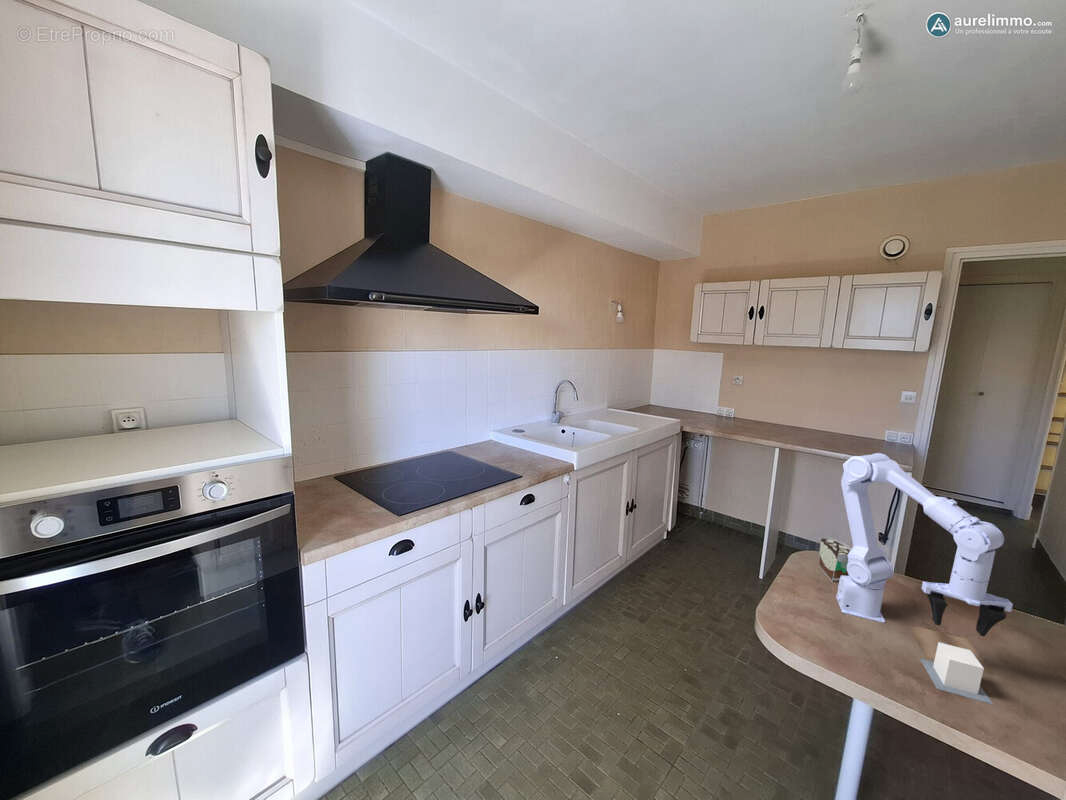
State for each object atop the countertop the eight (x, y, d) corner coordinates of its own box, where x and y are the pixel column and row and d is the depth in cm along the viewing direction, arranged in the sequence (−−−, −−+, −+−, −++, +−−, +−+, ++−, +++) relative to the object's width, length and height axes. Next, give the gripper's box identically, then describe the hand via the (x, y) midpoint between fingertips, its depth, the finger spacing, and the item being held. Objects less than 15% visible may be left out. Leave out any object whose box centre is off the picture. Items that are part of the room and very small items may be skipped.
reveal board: (925, 657, 100) (925, 656, 100) (906, 625, 110) (906, 624, 110) (993, 675, 95) (994, 674, 95) (967, 639, 105) (967, 638, 105)
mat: (936, 689, 91) (937, 688, 91) (920, 659, 99) (920, 658, 99) (992, 705, 87) (993, 704, 87) (970, 673, 95) (971, 672, 95)
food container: (857, 588, 126) (862, 557, 124) (834, 585, 127) (839, 555, 125) (836, 565, 138) (841, 537, 136) (816, 562, 139) (820, 535, 137)
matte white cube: (943, 685, 92) (949, 659, 90) (933, 666, 97) (938, 642, 95) (977, 694, 89) (983, 668, 88) (964, 675, 94) (970, 650, 93)
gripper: (935, 575, 93) (924, 628, 96) (1026, 594, 87) (1011, 650, 89) (922, 559, 99) (912, 610, 102) (1006, 576, 93) (993, 629, 96)
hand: (957, 627), depth 96 cm, fingers open, 7 cm apart
